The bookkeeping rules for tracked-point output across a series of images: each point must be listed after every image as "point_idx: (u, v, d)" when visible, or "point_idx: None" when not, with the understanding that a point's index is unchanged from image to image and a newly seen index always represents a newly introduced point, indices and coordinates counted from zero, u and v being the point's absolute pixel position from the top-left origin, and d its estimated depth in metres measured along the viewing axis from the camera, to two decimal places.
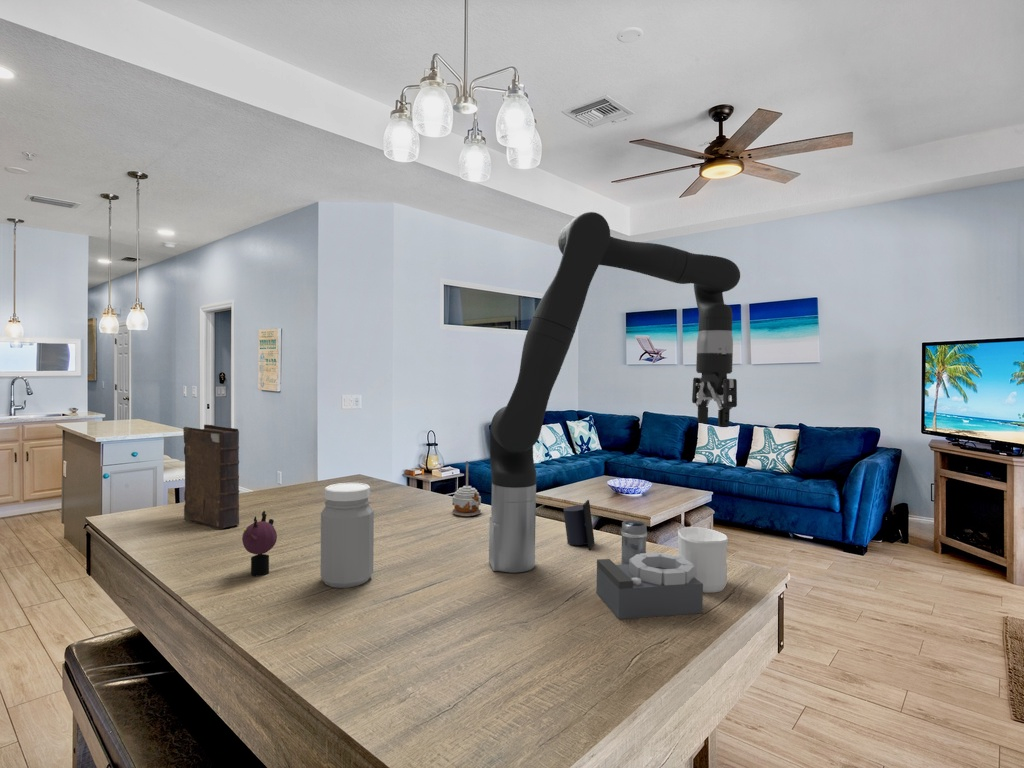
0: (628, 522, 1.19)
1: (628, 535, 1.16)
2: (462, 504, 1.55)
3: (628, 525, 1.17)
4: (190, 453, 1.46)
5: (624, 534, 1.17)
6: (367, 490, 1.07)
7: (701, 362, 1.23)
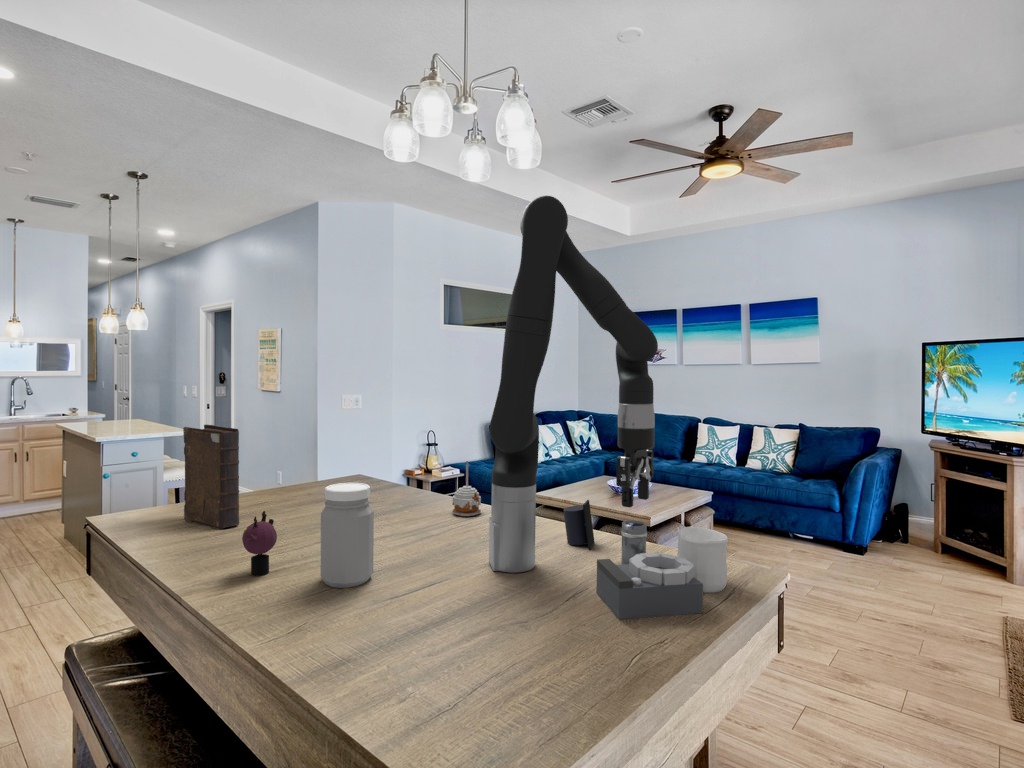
0: (628, 522, 1.19)
1: (628, 535, 1.16)
2: (462, 504, 1.55)
3: (628, 525, 1.17)
4: (190, 453, 1.46)
5: (624, 534, 1.17)
6: (367, 490, 1.07)
7: (654, 437, 1.17)
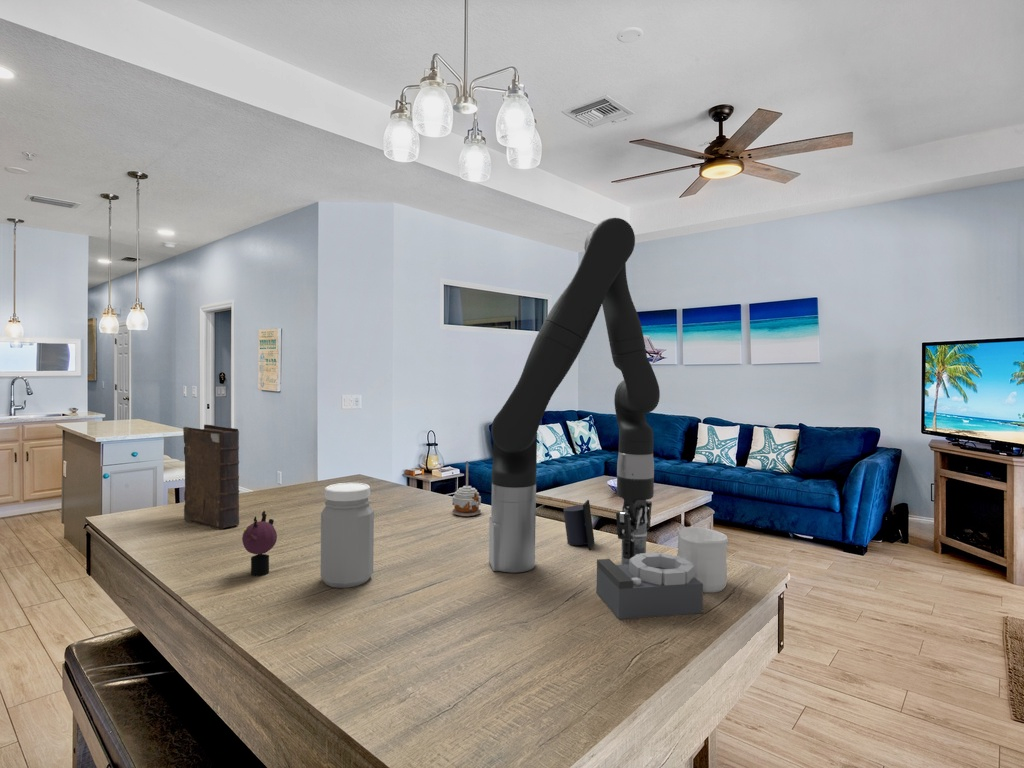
0: None
1: None
2: (462, 504, 1.55)
3: None
4: (190, 453, 1.46)
5: None
6: (367, 490, 1.07)
7: (653, 487, 1.17)
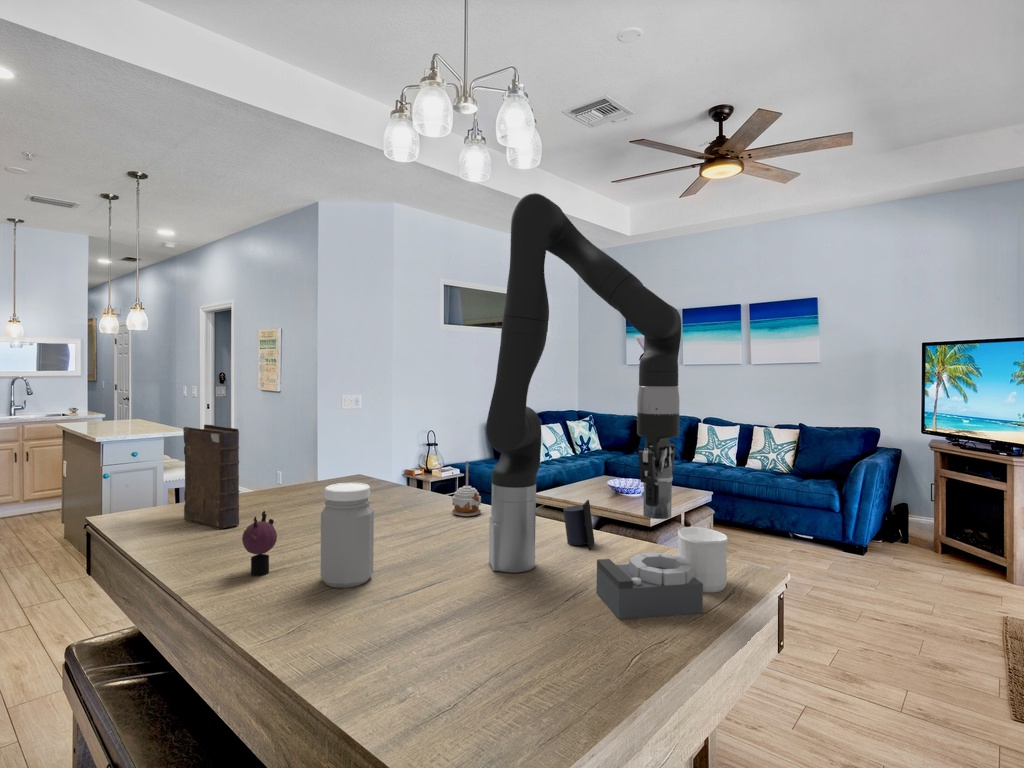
0: None
1: None
2: (462, 504, 1.55)
3: None
4: (190, 453, 1.46)
5: None
6: (367, 490, 1.07)
7: None
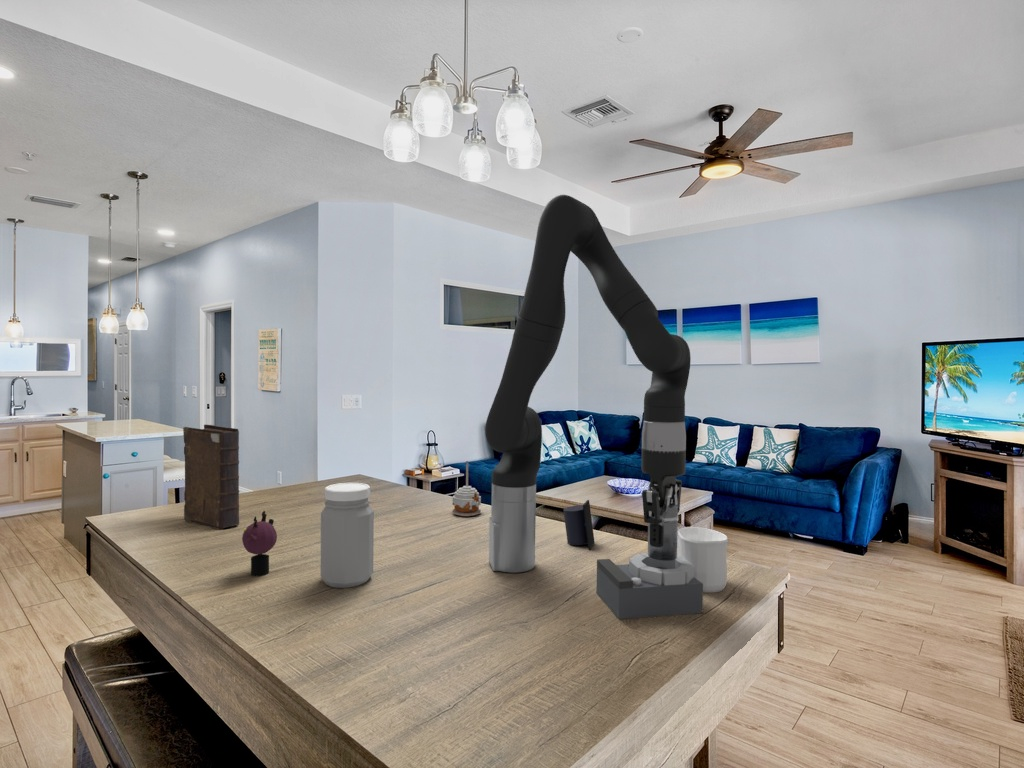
0: None
1: None
2: (462, 504, 1.55)
3: None
4: (190, 453, 1.46)
5: None
6: (367, 490, 1.07)
7: (685, 461, 0.99)
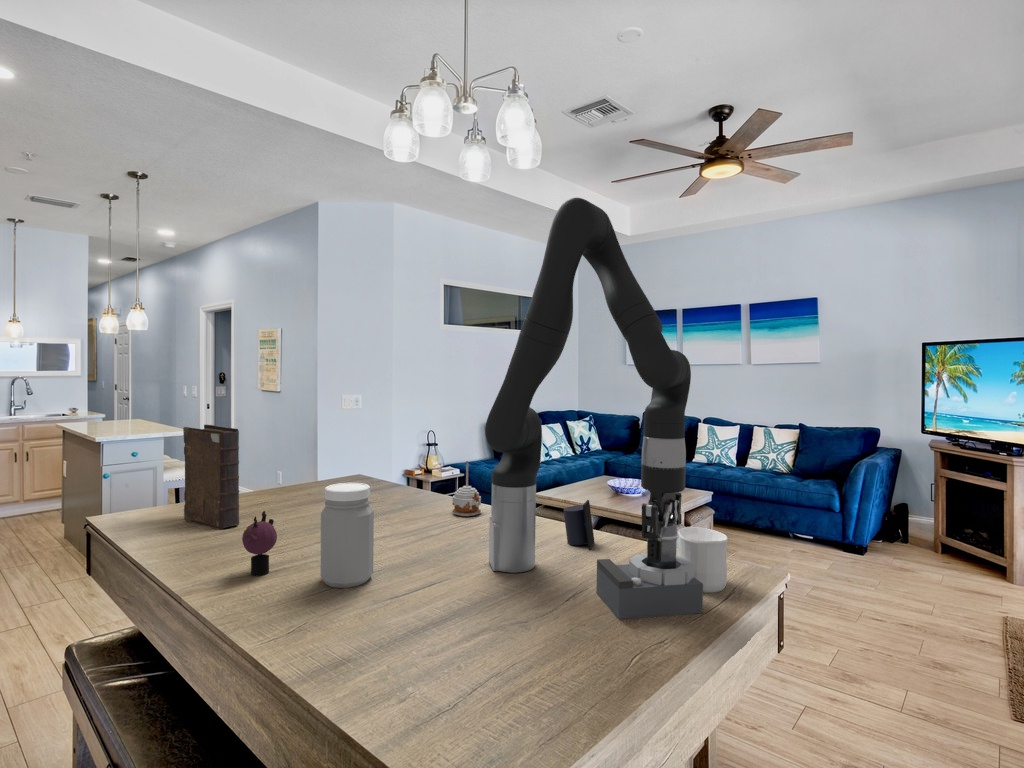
0: None
1: None
2: (462, 504, 1.55)
3: None
4: (190, 453, 1.46)
5: None
6: (367, 490, 1.07)
7: None
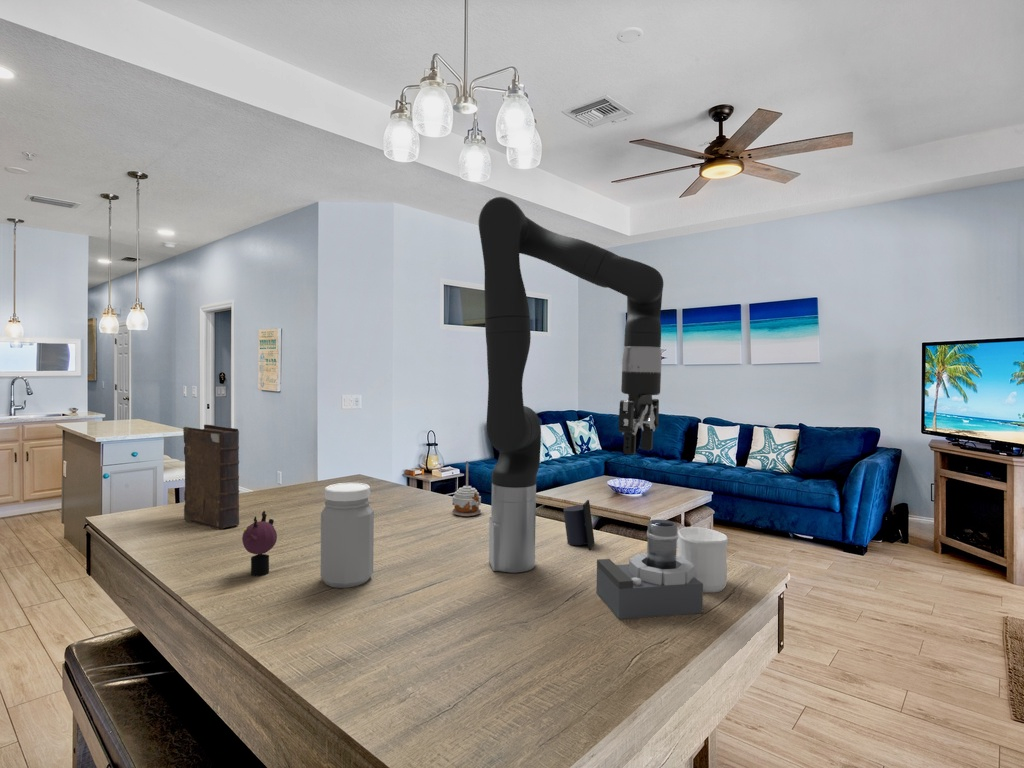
0: (655, 522, 1.00)
1: (656, 537, 0.98)
2: (462, 504, 1.55)
3: (656, 525, 0.98)
4: (190, 453, 1.46)
5: (651, 536, 0.99)
6: (367, 490, 1.07)
7: (660, 383, 1.10)
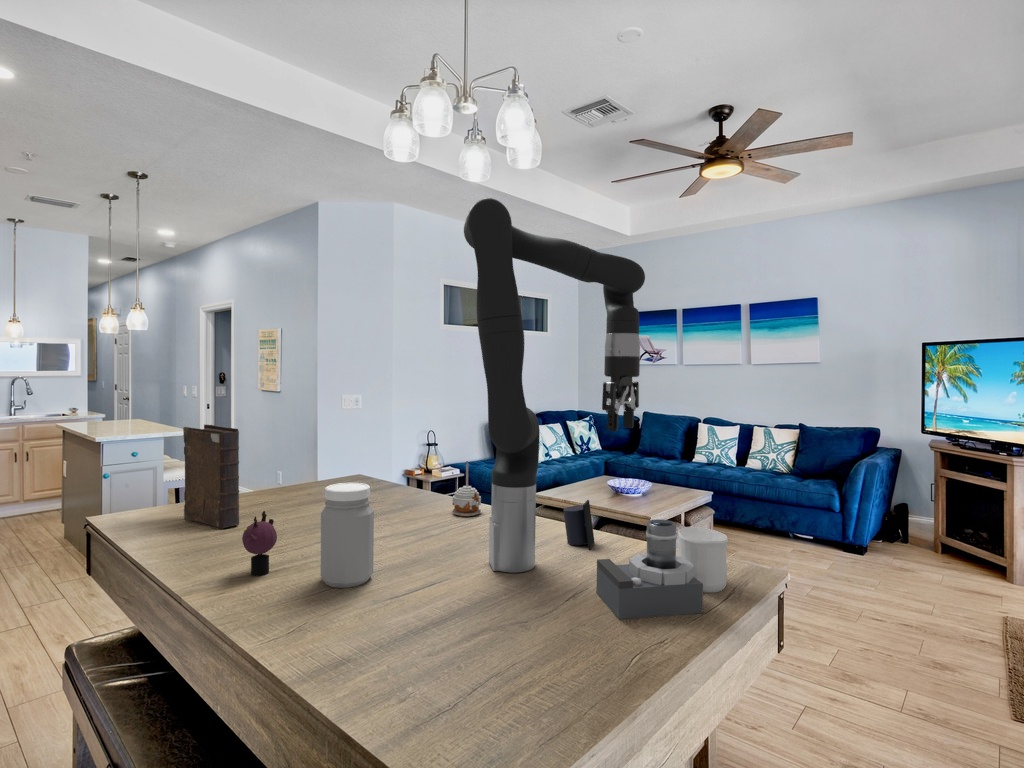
0: (654, 522, 1.00)
1: (655, 537, 0.98)
2: (462, 504, 1.55)
3: (655, 525, 0.98)
4: (190, 453, 1.46)
5: (650, 536, 0.99)
6: (367, 490, 1.07)
7: (639, 366, 1.22)
